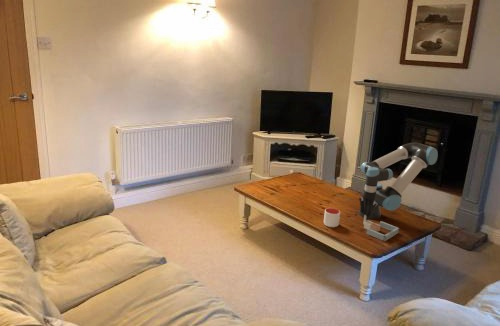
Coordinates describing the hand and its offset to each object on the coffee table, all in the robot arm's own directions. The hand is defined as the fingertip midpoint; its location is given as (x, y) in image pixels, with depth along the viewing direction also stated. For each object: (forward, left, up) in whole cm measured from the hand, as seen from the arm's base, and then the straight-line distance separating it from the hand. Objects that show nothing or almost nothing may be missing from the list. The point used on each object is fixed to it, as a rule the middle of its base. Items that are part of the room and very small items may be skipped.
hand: (365, 223), depth 275 cm
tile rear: (+3, 0, -2) cm, 4 cm away
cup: (-16, -16, -2) cm, 23 cm away
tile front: (+8, 0, -2) cm, 8 cm away
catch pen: (+13, 0, -2) cm, 13 cm away
